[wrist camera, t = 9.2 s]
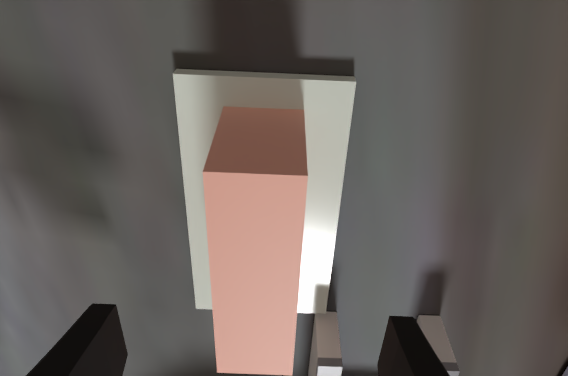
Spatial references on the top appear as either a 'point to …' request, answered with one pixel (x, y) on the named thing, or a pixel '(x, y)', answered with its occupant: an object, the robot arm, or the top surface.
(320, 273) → the white rectangular board
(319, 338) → the white u-shaped piece
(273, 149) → the salmon pink rectangular prism
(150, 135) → the top surface
